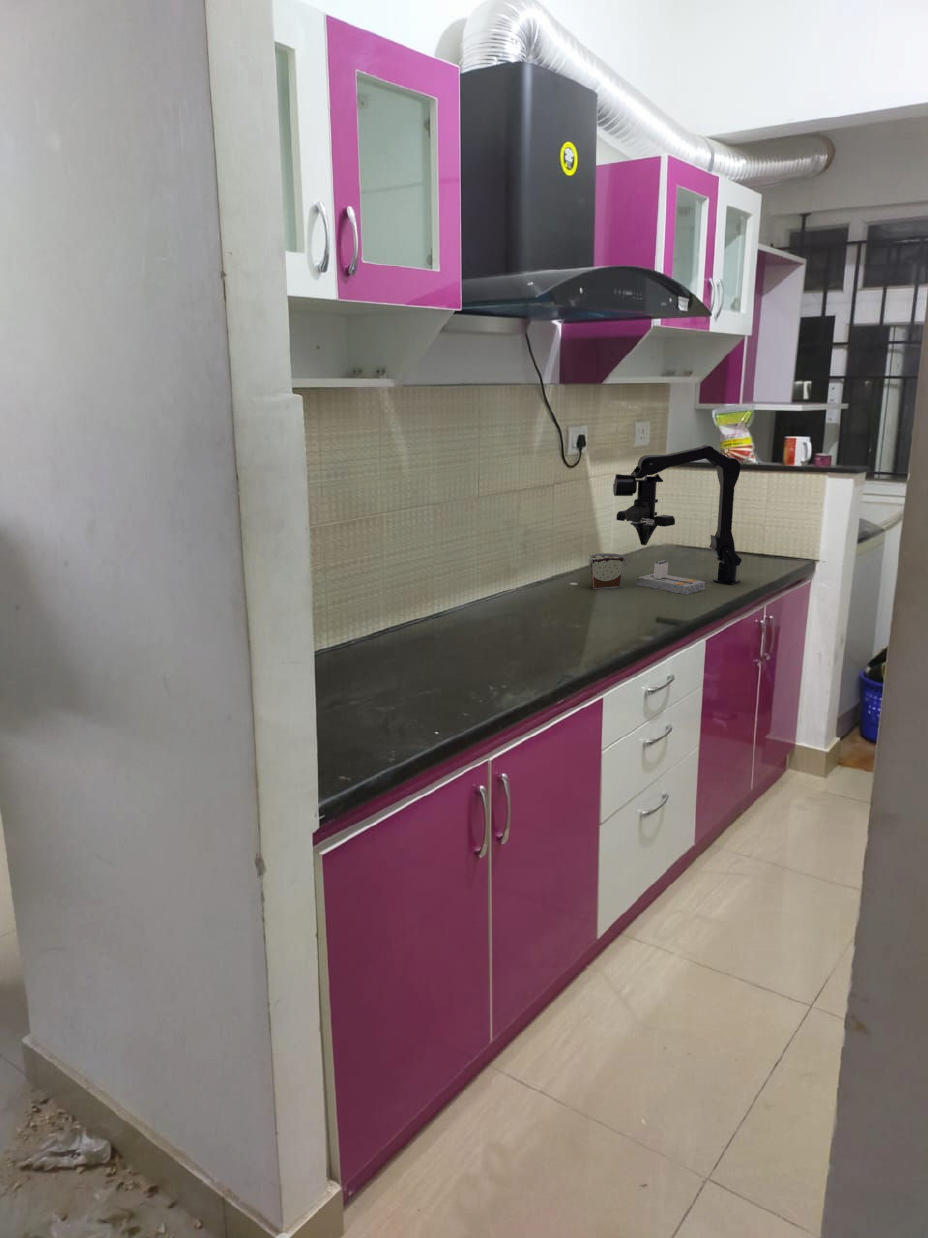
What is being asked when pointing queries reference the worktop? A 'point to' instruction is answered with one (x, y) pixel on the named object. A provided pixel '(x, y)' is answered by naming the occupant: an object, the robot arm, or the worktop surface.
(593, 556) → the food container
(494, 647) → the worktop surface
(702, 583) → the console
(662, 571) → the fader tab
